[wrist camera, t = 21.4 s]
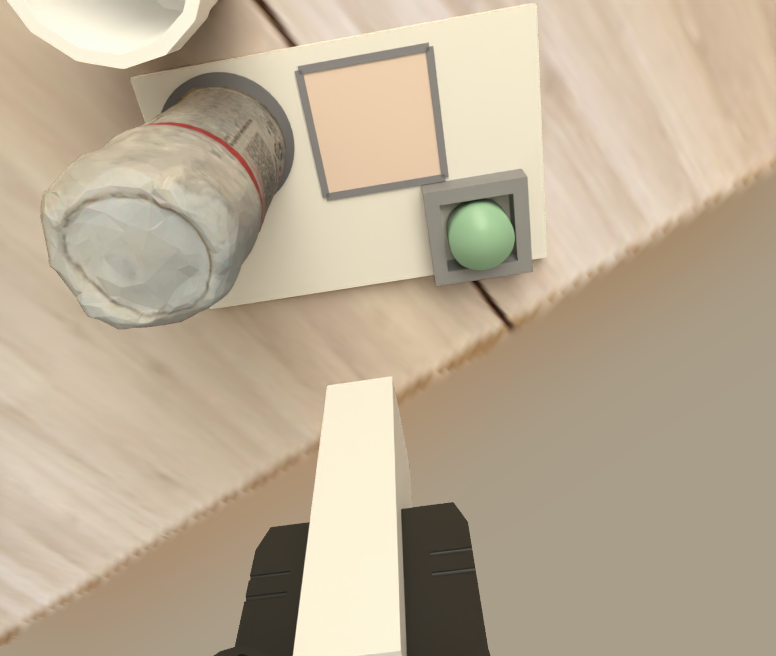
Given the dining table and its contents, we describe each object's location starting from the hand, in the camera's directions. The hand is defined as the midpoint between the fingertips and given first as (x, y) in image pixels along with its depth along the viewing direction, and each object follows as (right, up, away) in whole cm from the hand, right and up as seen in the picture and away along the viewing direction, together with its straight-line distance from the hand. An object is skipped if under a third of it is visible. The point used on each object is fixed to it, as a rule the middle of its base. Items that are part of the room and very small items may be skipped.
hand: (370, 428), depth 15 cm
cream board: (-2, +14, +30) cm, 33 cm away
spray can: (-10, +15, +27) cm, 33 cm away
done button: (+7, +10, +30) cm, 32 cm away
